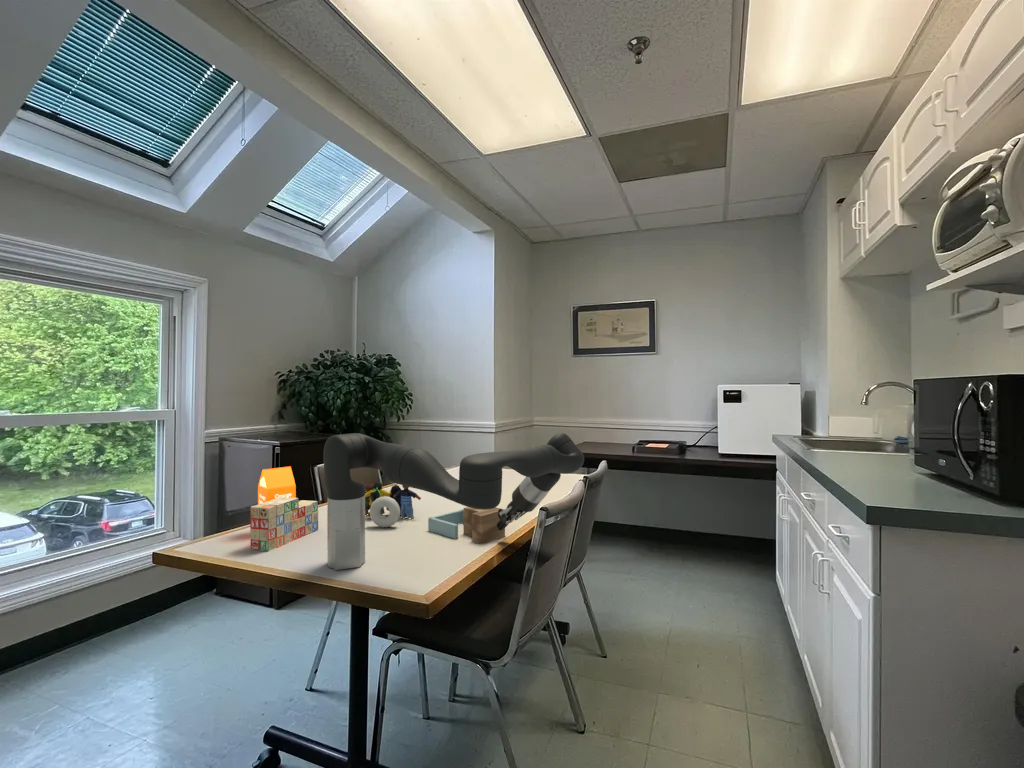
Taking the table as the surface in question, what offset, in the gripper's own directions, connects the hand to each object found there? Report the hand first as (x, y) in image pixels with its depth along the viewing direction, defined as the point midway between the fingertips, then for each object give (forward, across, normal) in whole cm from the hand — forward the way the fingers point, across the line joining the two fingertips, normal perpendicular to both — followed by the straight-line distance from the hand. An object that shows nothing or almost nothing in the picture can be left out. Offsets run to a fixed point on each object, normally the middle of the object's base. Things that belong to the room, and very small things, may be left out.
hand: (499, 527), depth 144 cm
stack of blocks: (+37, -41, +32) cm, 64 cm away
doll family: (+36, -6, +31) cm, 48 cm away
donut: (+29, -14, +24) cm, 40 cm away
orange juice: (+45, -40, +39) cm, 71 cm away
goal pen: (+15, 0, +10) cm, 18 cm away
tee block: (+8, 0, +3) cm, 9 cm away
